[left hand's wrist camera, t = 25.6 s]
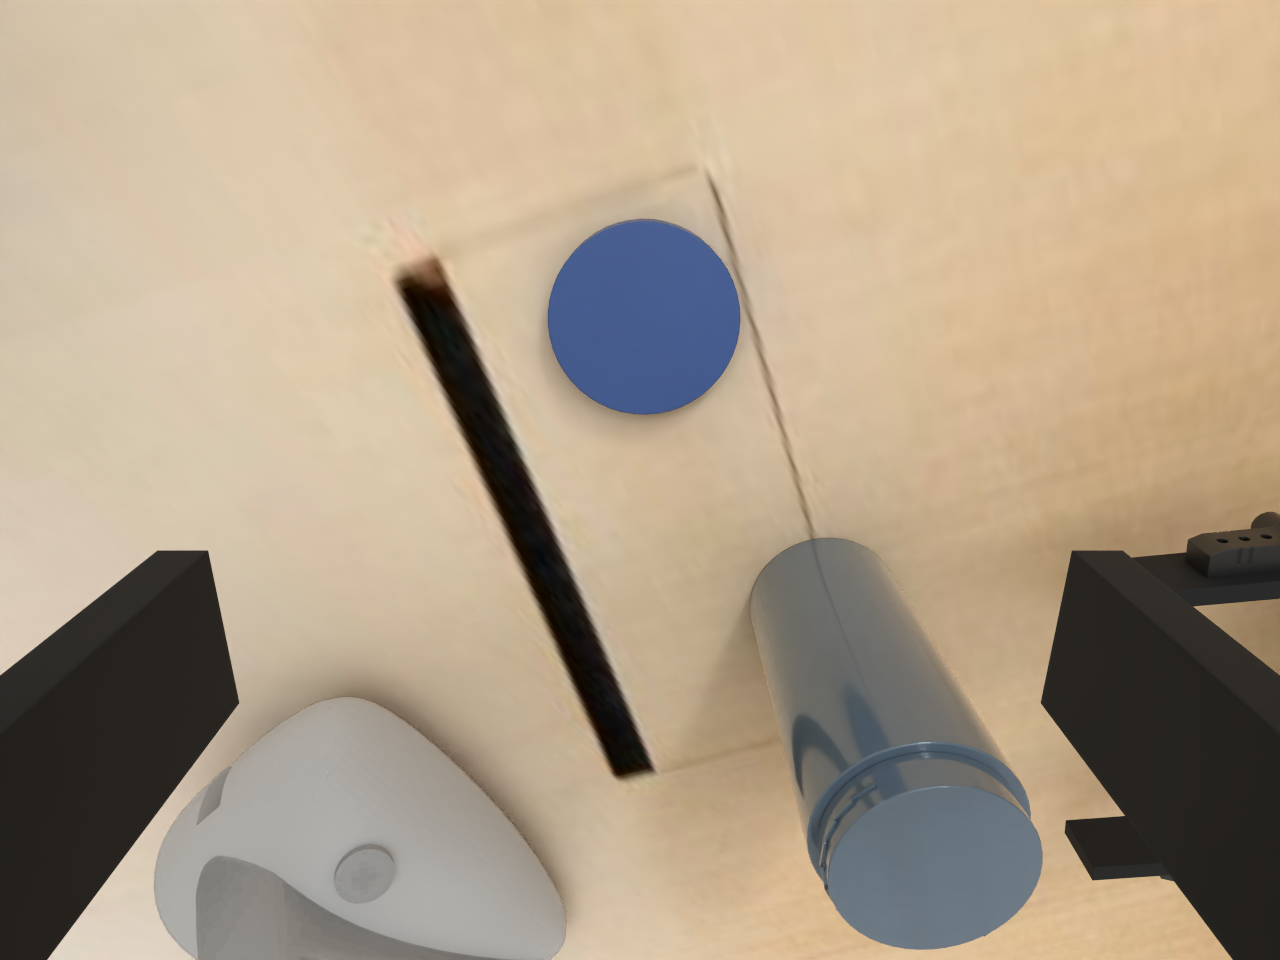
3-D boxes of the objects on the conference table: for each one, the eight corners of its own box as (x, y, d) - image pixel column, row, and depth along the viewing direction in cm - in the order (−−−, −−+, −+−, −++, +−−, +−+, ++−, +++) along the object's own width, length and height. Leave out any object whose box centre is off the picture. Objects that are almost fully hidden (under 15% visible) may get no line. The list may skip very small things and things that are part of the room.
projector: (241, 956, 55) (110, 1215, 42) (173, 664, 47) (-17, 867, 34) (571, 956, 55) (548, 1215, 42) (559, 665, 47) (527, 867, 34)
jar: (719, 600, 46) (768, 867, 28) (834, 508, 44) (963, 734, 27) (811, 691, 48) (909, 991, 31) (925, 607, 46) (1100, 876, 29)
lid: (745, 389, 42) (750, 399, 40) (570, 415, 42) (567, 427, 40) (723, 204, 39) (728, 206, 37) (535, 235, 39) (530, 238, 37)
